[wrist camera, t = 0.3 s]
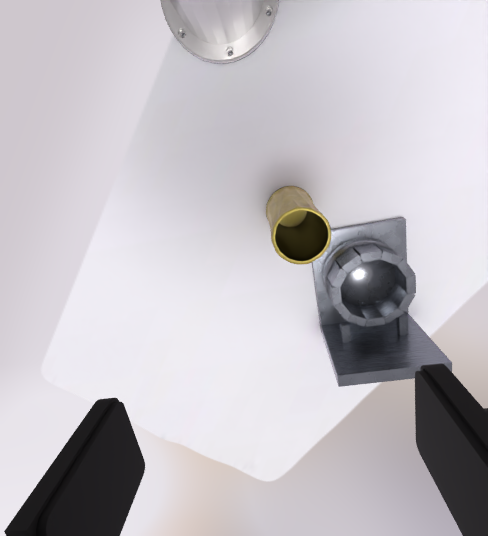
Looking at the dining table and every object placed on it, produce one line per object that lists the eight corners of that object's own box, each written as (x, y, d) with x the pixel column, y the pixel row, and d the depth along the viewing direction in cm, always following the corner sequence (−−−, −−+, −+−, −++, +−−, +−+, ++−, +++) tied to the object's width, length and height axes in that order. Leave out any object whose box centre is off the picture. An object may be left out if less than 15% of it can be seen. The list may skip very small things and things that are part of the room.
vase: (270, 182, 40) (273, 196, 27) (318, 189, 40) (344, 207, 27) (262, 229, 42) (261, 263, 29) (307, 236, 42) (328, 274, 29)
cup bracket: (308, 233, 42) (324, 262, 31) (402, 217, 41) (455, 241, 29) (321, 330, 47) (338, 386, 36) (405, 319, 45) (451, 374, 34)
